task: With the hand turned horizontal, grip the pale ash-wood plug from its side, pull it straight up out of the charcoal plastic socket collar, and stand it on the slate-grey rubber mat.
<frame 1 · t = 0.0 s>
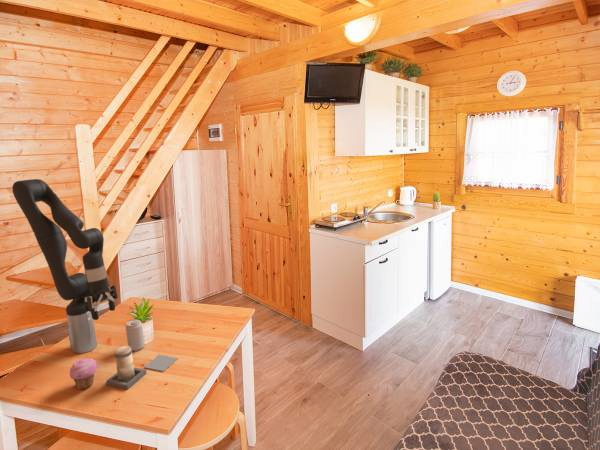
hand: (104, 314, 152), 17 cm above the table, tool pointing down, fingers open, 8 cm apart
wooden plug: (125, 364, 136), in the socket collar
socket collar: (127, 379, 138), on the table
beverage can: (136, 348, 159), on the table
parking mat: (161, 363, 147), on the table
cupcake: (86, 385, 135), on the table
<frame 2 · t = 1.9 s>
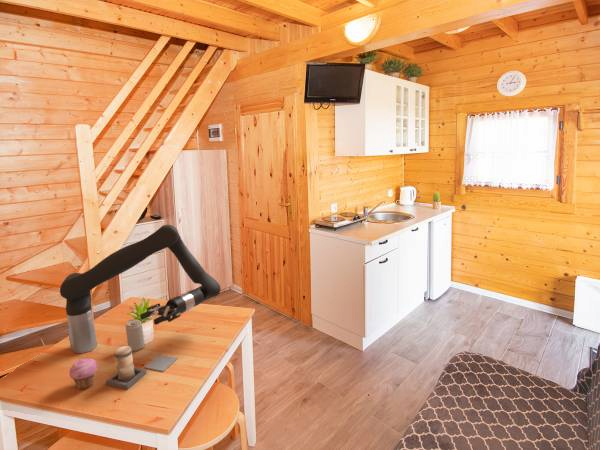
hand: (147, 319, 143), 19 cm above the table, tool horizontal, fingers open, 8 cm apart
nothing on the table moved.
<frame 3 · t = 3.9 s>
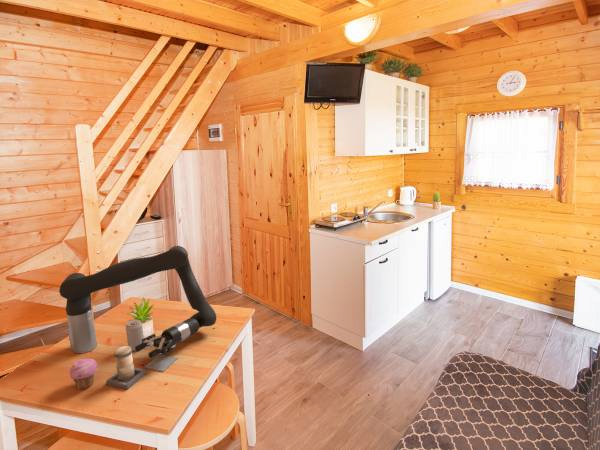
hand: (142, 352, 142), 7 cm above the table, tool horizontal, fingers open, 8 cm apart
nothing on the table moved.
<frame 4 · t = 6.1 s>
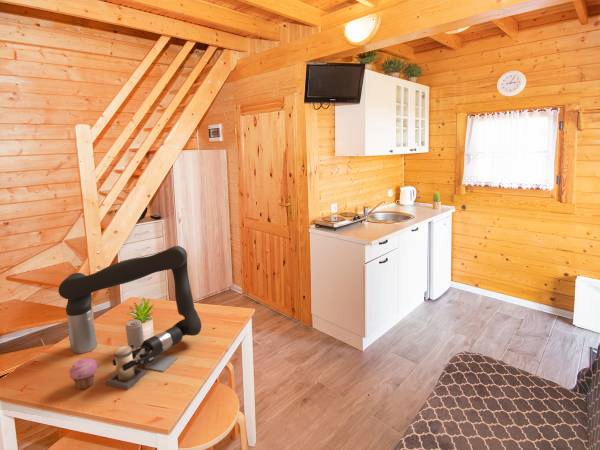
hand: (118, 365, 134), 7 cm above the table, tool horizontal, fingers closed on wooden plug, 5 cm apart
wooden plug: (124, 364, 136), in the socket collar, touching gripper
everything else where it was.
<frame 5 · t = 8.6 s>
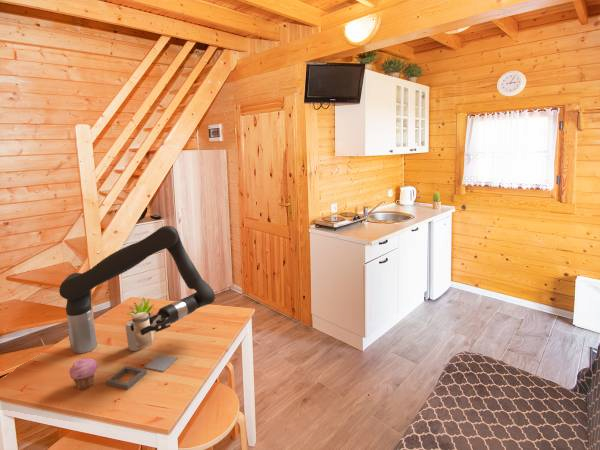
hand: (136, 330, 137), 18 cm above the table, tool horizontal, fingers closed on wooden plug, 5 cm apart
wooden plug: (142, 330, 139), point 17 cm above the table, touching gripper
everything else where it was.
when the fingers open (8 cm above the table, at t = 11.4 s): wooden plug stays where it is, resting on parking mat.
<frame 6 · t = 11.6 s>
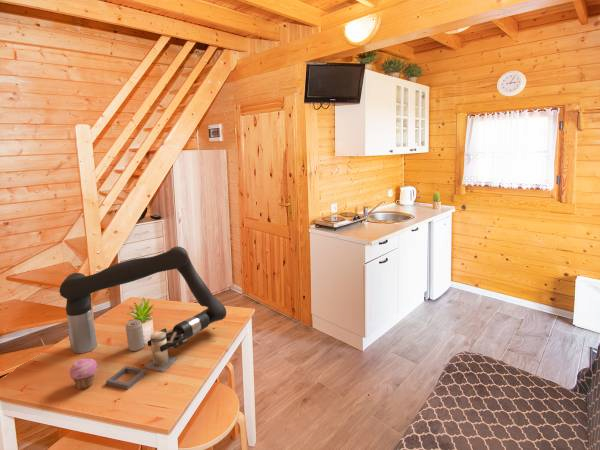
hand: (154, 346, 143), 8 cm above the table, tool horizontal, fingers open, 7 cm apart
wooden plug: (159, 348, 146), on the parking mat
everything else where it was.
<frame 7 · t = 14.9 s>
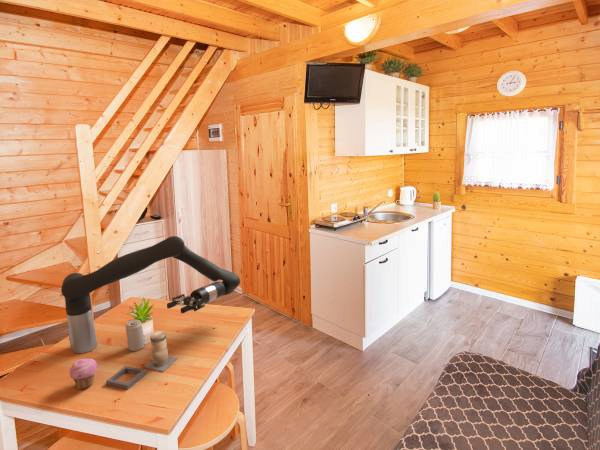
hand: (174, 308, 150), 20 cm above the table, tool horizontal, fingers open, 8 cm apart
nothing on the table moved.
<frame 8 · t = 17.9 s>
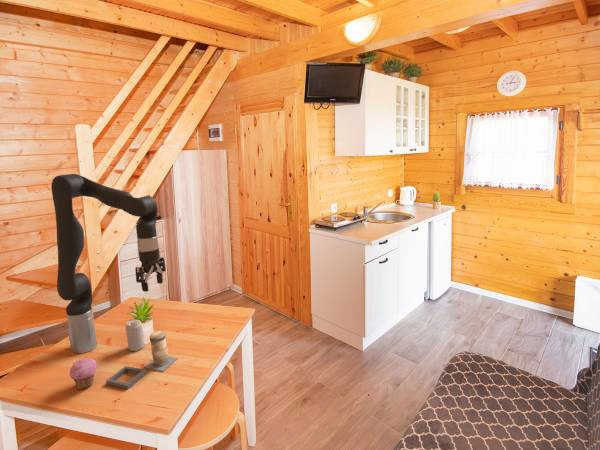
hand: (153, 287, 146), 30 cm above the table, tool pointing down, fingers open, 8 cm apart
nothing on the table moved.
at the end: wooden plug 0.1 cm off-centre on the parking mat, point 6.5 cm above the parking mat's base; wooden plug tilted 1°; the gripper is holding nothing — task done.
